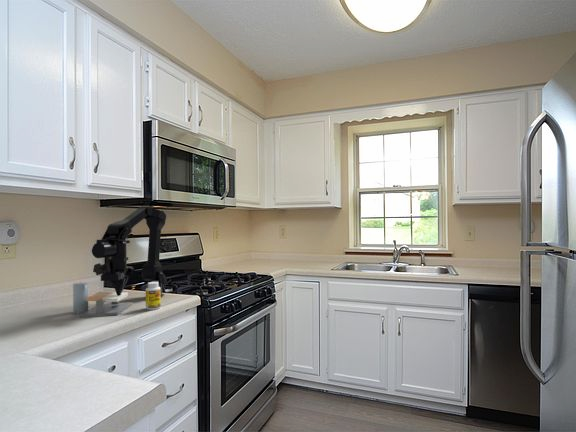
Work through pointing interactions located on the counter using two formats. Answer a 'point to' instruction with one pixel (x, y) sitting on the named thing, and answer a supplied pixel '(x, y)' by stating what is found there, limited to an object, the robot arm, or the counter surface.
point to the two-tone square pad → (107, 296)
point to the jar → (80, 297)
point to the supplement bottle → (153, 296)
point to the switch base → (106, 309)
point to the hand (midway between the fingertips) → (118, 295)
